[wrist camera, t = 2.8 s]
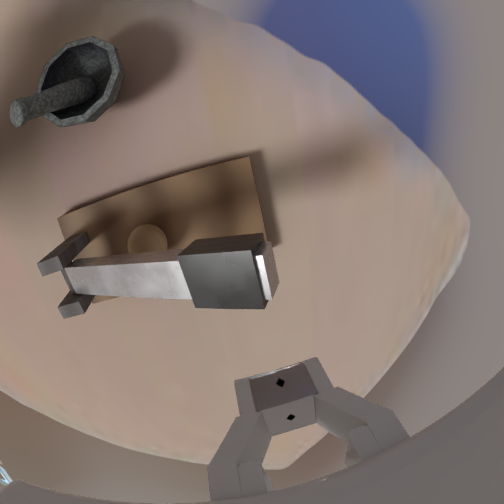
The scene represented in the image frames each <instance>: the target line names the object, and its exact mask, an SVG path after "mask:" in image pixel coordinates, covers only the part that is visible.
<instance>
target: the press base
mask: <svg viewBox="0 0 504 504" xmlns="http://www.w3.org/2000/svg"><path fill="white" fill-rule="evenodd" d="M57 219H58V222H59V225H60V228H61V230H62V233H63V236H64V239H65V241H64V242H63V243H61V244H60V245H59V246H58V247H56V248H55V249H54V250H53V251H51V252H50V253H49V254H48V255H47V256H45V257H44V258H43V259H42V260H41V261H40V262H38V263H37V265H38V267H39V270H40V272H41V274H42V276H45V275H48V274H51V273H54V272H57V271H60V270H61V272H62V274H63V276H64V278H65V281H66V283H67V285H68V287H69V289H70V291H69V293H68V294H67V295H66V297H65V298H64V299H63V301H62V302H61V303H60V305H59V306H58V309H59V311H60V313H61V314H62V316H63V318H68V317H72V316H76V315H80V314H85V312H86V310H87V309H88V307H89V305H90V304H91V302H92V303H97V302H101V301H105V300H109V299H112V298H116V297H119V296H103V295H88V294H76V293H75V290H74V288H73V286H72V284H71V282H70V280H69V278H68V275H67V273H66V271H65V269H64V268H65V267H66V266H68V265H69V264H70V263H72V260H73V261H75V260H76V259H82V258H91V257H102V256H112V255H122V254H129V251H128V246H127V244H128V238H129V236H130V234H131V233H132V231H133V230H134V229H135V228H137V227H138V226H141V225H144V224H150V225H154V226H157V227H158V228H160V229H161V230H162V231H163V233H164V234H165V236H166V239H167V250H175V249H185V248H186V247H187V246H189V245H190V244H191V243H192V242H193V241H194V240H196V239H204V238H214V237H224V236H234V235H244V234H254V233H263V235H264V239H265V242H267V236H266V231H265V227H264V222H263V217H262V212H261V208H260V203H259V199H258V194H257V189H256V185H255V180H254V176H253V171H252V167H251V162H250V158H249V157H247V156H246V157H242V158H237V159H233V160H229V161H225V162H221V163H217V164H213V165H209V166H205V167H201V168H198V169H194V170H190V171H187V172H183V173H180V174H176V175H173V176H170V177H166V178H163V179H160V180H157V181H154V182H150V183H147V184H144V185H141V186H138V187H135V188H132V189H129V190H126V191H124V192H121V193H118V194H115V195H112V196H110V197H107V198H104V199H101V200H99V201H96V202H94V203H91V204H88V205H86V206H83V207H81V208H78V209H76V210H74V211H71V212H69V213H66V214H64V215H62V216H60V217H59V218H57Z"/></svg>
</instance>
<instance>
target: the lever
mask: <svg viewBox="0 0 504 504" xmlns="http://www.w3.org/2000/svg"><path fill="white" fill-rule="evenodd" d="M64 269H65V271H66V273H67V275H68V278H69V280H70V282H71V284H72V286H73V288H74V290H75V293H76V294H88V295H103V296H119V297H138V298H162V299H192V300H193V303H194V305H195V308H217V309H265V307H266V305H267V303H268V300H272V299H273V296H274V294H275V292H276V289H277V287H278V284H279V279H278V274H277V269H276V264H275V259H274V254H273V249H272V244H271V241H267V242H265V239H264V235H263V233H254V234H244V235H234V236H224V237H214V238H204V239H196V240H194V241H193V242H192V243H191V244H190V245H189V246H187V247H186V248H185V249H175V250H164V251H154V252H143V253H133V254H122V255H112V256H102V257H91V258H82V259H76V260H75V261H73V262H72V263H70V264H69V265H68V266H66V267H65V268H64Z"/></svg>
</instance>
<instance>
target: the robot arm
mask: <svg viewBox="0 0 504 504" xmlns="http://www.w3.org/2000/svg"><path fill="white" fill-rule="evenodd" d="M234 385H235V391H236V396H237V402H238V407H239V413H240V416H239V417H236V418H235V420H234V422H233V424H232V425H231V427H230V429H229V431H228V433H227V434H226V436H225V438H224V440H223V442H222V443H221V445H220V447H219V449H218V450H217V452H216V454H215V455H214V457H213V459H212V461H211V462H210V464H209V466H208V468H207V470H208V480H209V490H210V498H211V501H208V502H196V503H174V504H504V367H503V368H502V369H501V371H499V372H498V373H497V374H496V375H495V376H494V377H493V378H492V379H491V380H489V381H488V382H487V383H486V384H485V385H484V386H483V387H481V388H480V389H479V390H478V391H477V392H475V393H474V394H473V395H472V396H470V397H469V398H468V399H467V400H465V401H464V402H463V403H461V404H460V405H459V406H457V407H456V408H455V409H453V410H452V411H450V412H449V413H447V414H446V415H445V416H443V417H442V418H440V419H439V420H437V421H436V422H434V423H433V424H432V425H430V426H428V427H426V428H425V429H423V430H421V431H420V432H419V433H417V434H415V435H413V436H412V437H410V436H409V435H408V434H407V432H406V430H405V429H404V427H403V426H402V424H401V423H400V421H399V420H398V418H397V417H396V415H395V414H394V412H393V411H392V410H390V409H388V408H385V407H383V406H380V405H378V404H376V403H373V402H371V401H369V400H366V399H364V398H362V397H360V396H357V395H355V394H353V393H351V392H348V391H346V390H344V389H342V388H340V387H335V388H334V387H333V385H332V384H331V382H330V380H329V378H328V376H327V374H326V373H325V371H324V369H323V367H322V365H321V363H320V362H319V360H318V358H317V357H314V358H311V359H308V360H305V361H303V362H299V363H296V364H293V365H290V366H287V367H283V368H280V369H277V370H275V371H271V372H267V373H263V374H259V375H255V376H251V377H247V378H243V379H239V380H235V382H234ZM314 423H317V424H318V425H320V426H321V427H323V428H324V429H326V430H327V431H329V432H330V433H332V434H333V435H335V436H336V437H338V438H340V439H341V440H343V441H344V442H346V443H348V444H347V451H346V458H345V463H346V465H347V468H345V469H343V470H340V471H337V472H335V473H332V474H329V475H326V476H324V477H321V478H318V479H315V480H312V481H308V482H305V483H302V484H298V485H295V486H291V487H287V488H284V489H279V490H274V487H273V484H272V482H271V481H270V479H269V477H268V476H267V474H266V472H265V471H264V469H263V467H262V462H263V459H264V457H265V454H266V451H267V449H268V446H269V443H270V441H271V436H275V435H278V434H282V433H285V432H288V431H291V430H294V429H298V428H301V427H305V426H308V425H311V424H314ZM0 504H149V503H132V502H120V501H119V502H118V501H110V500H102V499H96V498H89V497H84V496H78V495H73V494H69V493H64V492H60V491H56V490H52V489H48V488H45V487H41V486H38V485H35V484H32V483H28V482H26V481H22V480H14V481H12V482H11V483H10V484H8V485H7V486H6V487H5V488H4V489H3V490H2V491H1V492H0ZM150 504H152V503H150Z"/></svg>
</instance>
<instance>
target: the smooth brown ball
mask: <svg viewBox="0 0 504 504" xmlns="http://www.w3.org/2000/svg"><path fill="white" fill-rule="evenodd" d="M127 246H128V251H129V254H133V253H143V252H154V251H164V250H167V239H166V236H165V234H164V233H163V231H162V230H161V229H160V228H158V227H157V226H154V225H150V224H144V225H141V226H138V227H137V228H135V229H134V230H133V231H132V233H131V234H130V236H129V238H128V244H127Z"/></svg>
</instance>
